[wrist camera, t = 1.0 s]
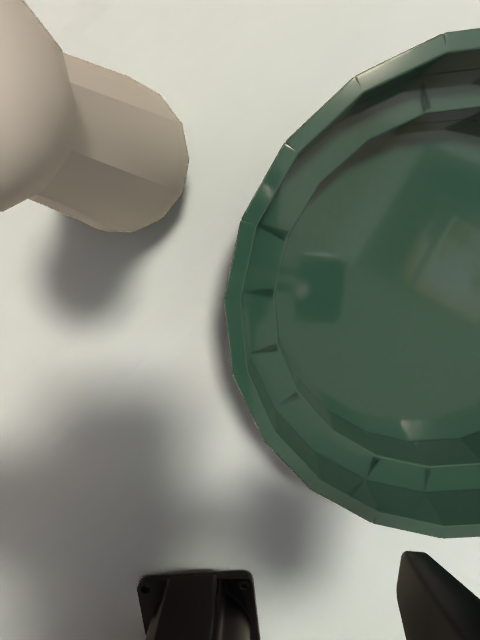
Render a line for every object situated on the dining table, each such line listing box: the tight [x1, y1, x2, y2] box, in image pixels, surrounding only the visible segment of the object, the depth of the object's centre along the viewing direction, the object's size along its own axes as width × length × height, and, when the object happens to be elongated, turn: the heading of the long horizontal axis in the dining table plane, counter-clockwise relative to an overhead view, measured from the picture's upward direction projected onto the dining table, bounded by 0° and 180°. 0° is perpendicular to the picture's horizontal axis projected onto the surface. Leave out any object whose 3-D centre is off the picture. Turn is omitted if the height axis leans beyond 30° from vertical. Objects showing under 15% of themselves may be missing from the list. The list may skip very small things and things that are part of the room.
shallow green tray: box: [224, 28, 480, 538], centre depth 18 cm, size 18×18×5 cm
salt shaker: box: [0, 0, 189, 232], centre depth 13 cm, size 6×6×13 cm
